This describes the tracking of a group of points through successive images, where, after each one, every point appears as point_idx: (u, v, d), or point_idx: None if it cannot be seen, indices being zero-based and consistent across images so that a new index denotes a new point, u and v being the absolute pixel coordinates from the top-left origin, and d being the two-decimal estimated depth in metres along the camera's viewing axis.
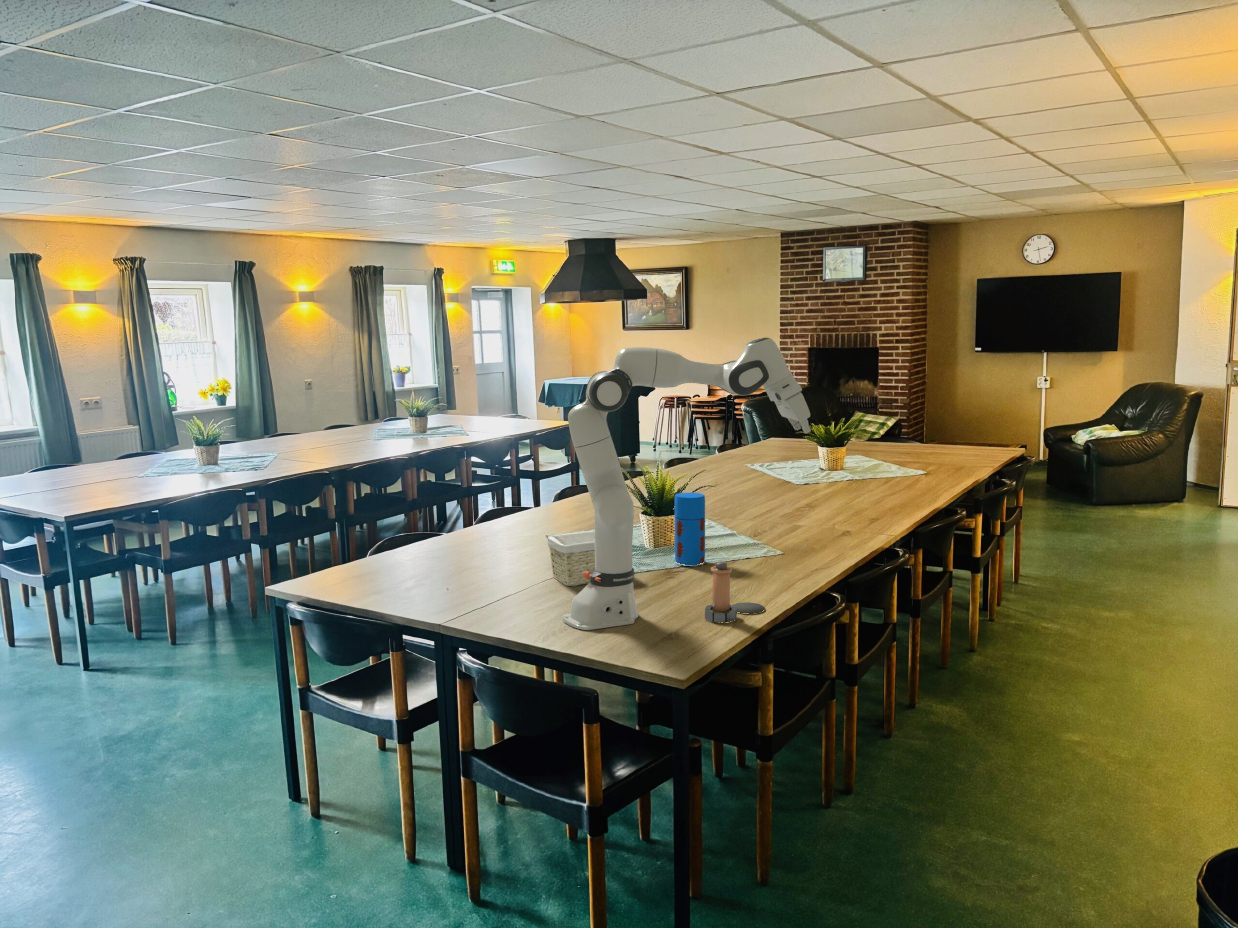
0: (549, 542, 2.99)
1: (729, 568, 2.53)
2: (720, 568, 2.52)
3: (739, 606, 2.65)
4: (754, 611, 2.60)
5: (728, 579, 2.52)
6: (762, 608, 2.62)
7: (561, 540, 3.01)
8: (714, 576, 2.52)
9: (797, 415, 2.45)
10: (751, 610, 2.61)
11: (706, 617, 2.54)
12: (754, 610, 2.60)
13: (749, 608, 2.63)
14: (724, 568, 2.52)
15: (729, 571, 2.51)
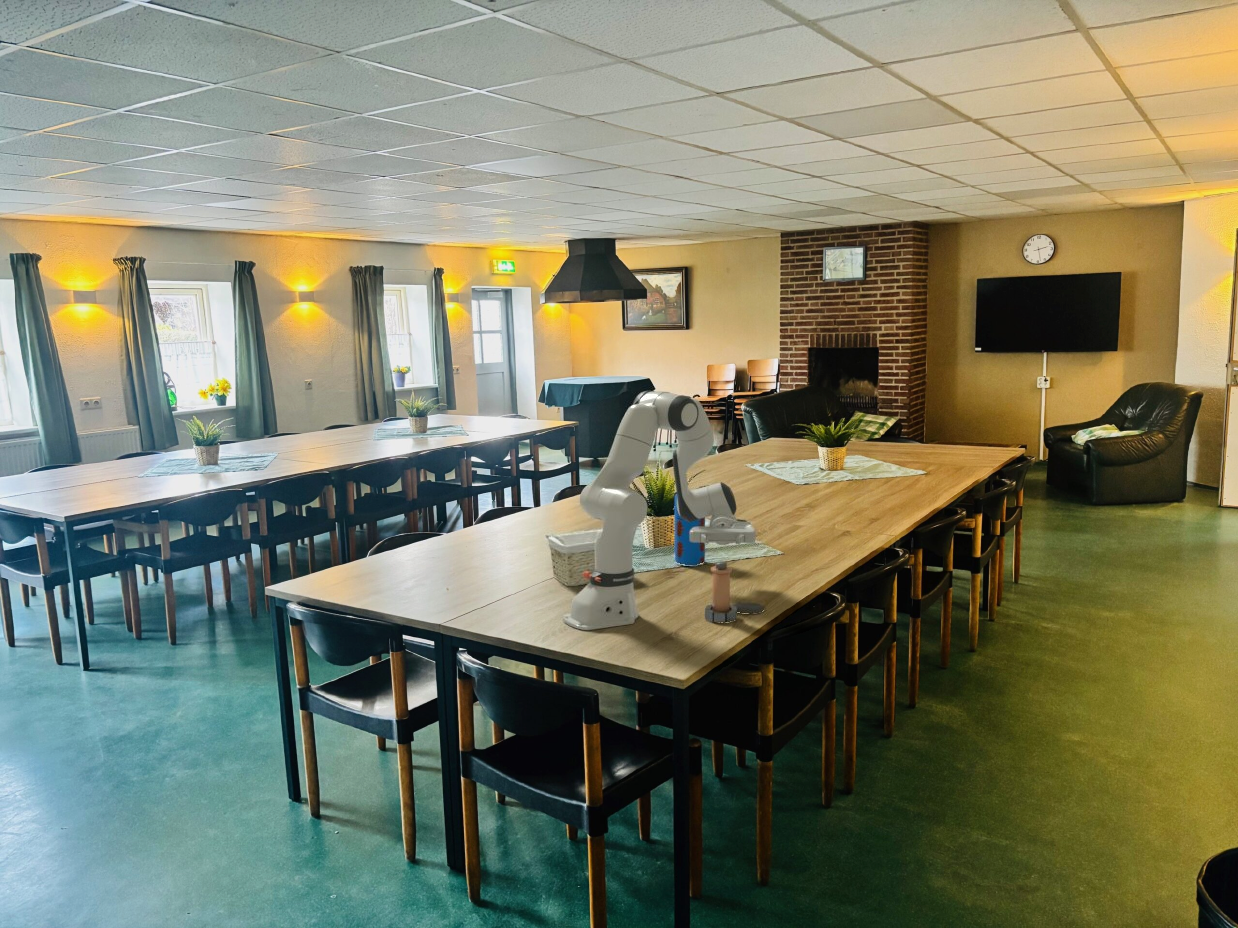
0: (550, 542, 2.98)
1: (729, 568, 2.53)
2: (720, 568, 2.52)
3: (739, 606, 2.65)
4: (754, 611, 2.60)
5: (728, 579, 2.52)
6: (762, 608, 2.62)
7: (562, 540, 3.01)
8: (714, 576, 2.52)
9: None
10: (751, 610, 2.61)
11: (706, 617, 2.54)
12: (754, 610, 2.60)
13: (749, 608, 2.63)
14: (724, 568, 2.52)
15: (729, 571, 2.51)
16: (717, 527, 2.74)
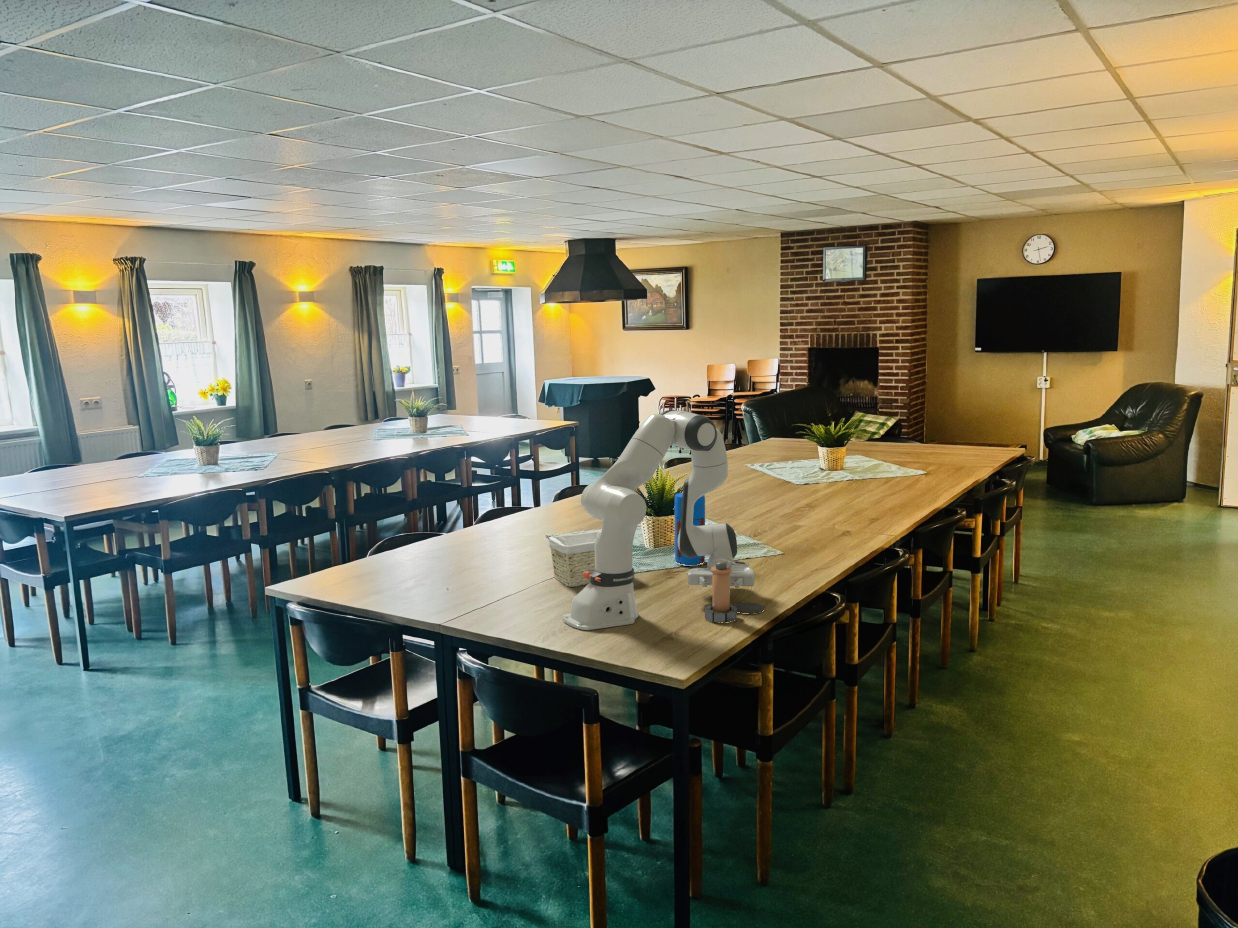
0: (550, 543, 2.98)
1: (729, 568, 2.53)
2: (720, 568, 2.52)
3: (739, 606, 2.65)
4: (754, 611, 2.60)
5: (728, 579, 2.52)
6: (762, 608, 2.62)
7: (562, 541, 3.00)
8: (714, 576, 2.52)
9: None
10: (751, 610, 2.61)
11: (706, 617, 2.54)
12: (754, 610, 2.60)
13: (749, 608, 2.63)
14: (724, 568, 2.52)
15: (729, 571, 2.51)
16: None
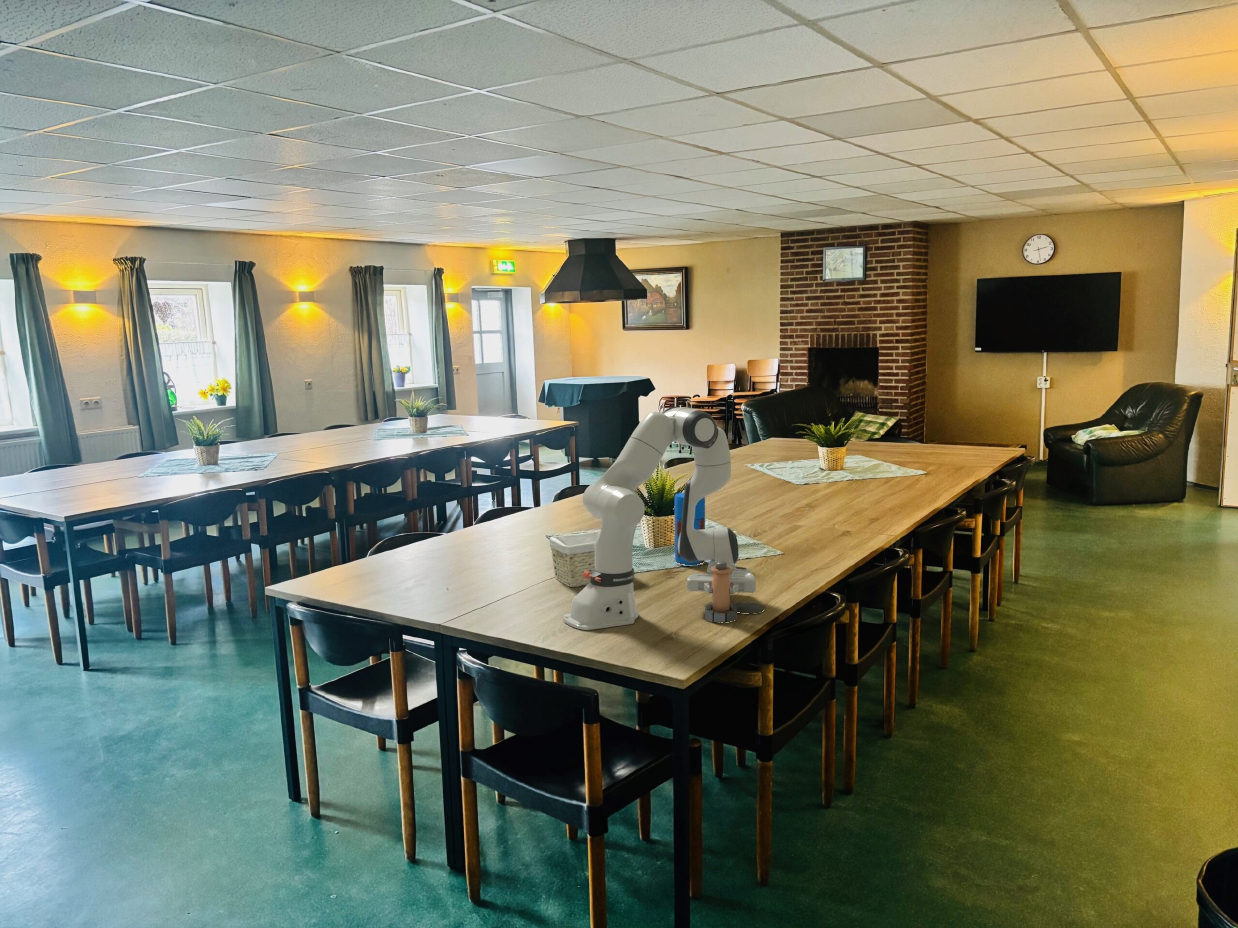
0: (551, 543, 2.97)
1: (729, 568, 2.53)
2: (720, 568, 2.52)
3: (739, 606, 2.65)
4: (754, 611, 2.60)
5: (728, 579, 2.52)
6: (762, 608, 2.62)
7: (563, 541, 3.00)
8: (714, 576, 2.52)
9: None
10: (751, 610, 2.61)
11: (706, 617, 2.54)
12: (754, 610, 2.60)
13: (749, 608, 2.63)
14: (724, 568, 2.52)
15: (729, 571, 2.51)
16: None
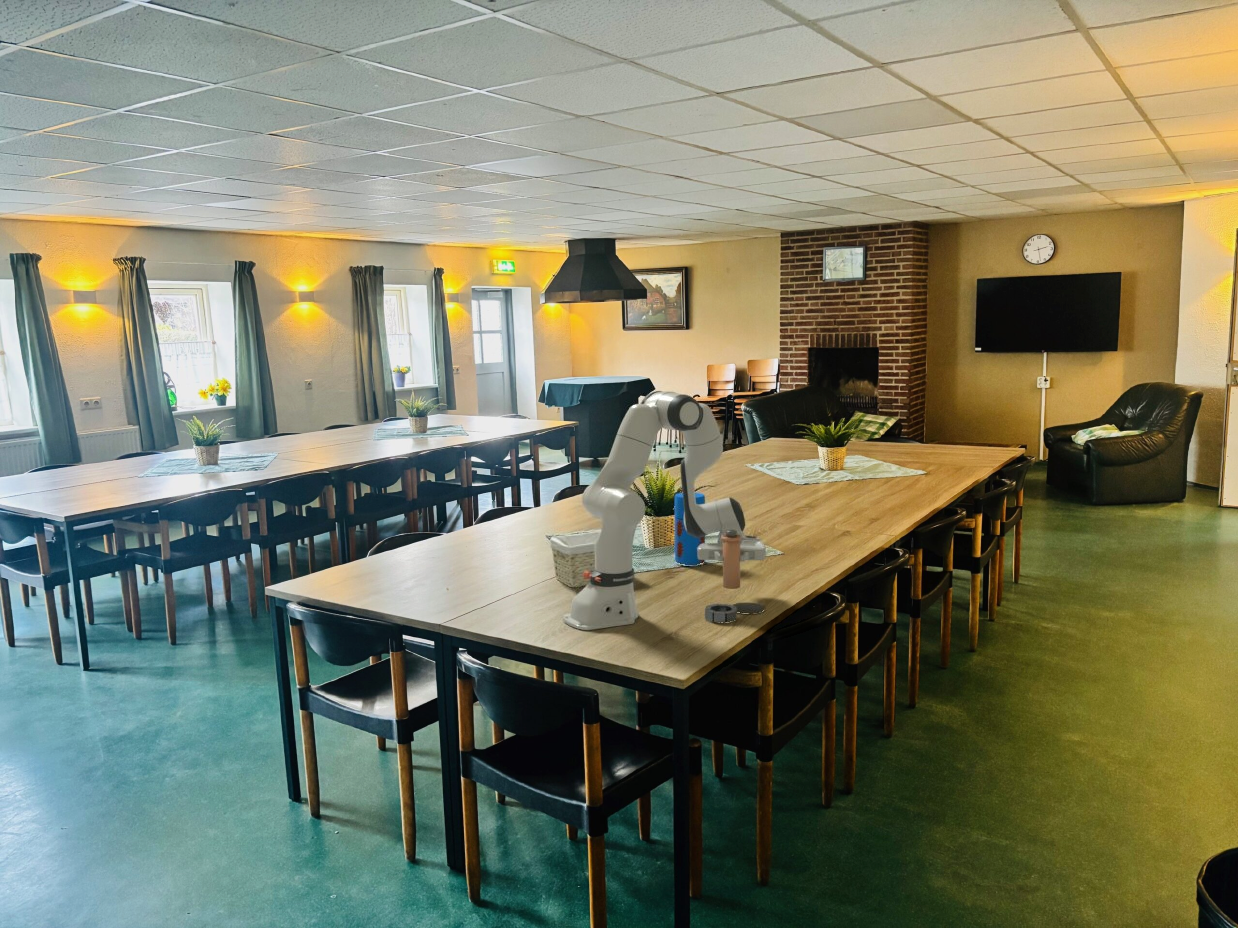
0: (552, 543, 2.97)
1: (739, 536, 2.55)
2: (730, 536, 2.53)
3: (739, 606, 2.65)
4: (754, 611, 2.60)
5: (738, 547, 2.54)
6: (762, 608, 2.62)
7: (564, 541, 2.99)
8: (725, 543, 2.54)
9: (765, 547, 2.60)
10: (751, 610, 2.61)
11: (706, 617, 2.54)
12: (754, 610, 2.60)
13: (749, 608, 2.63)
14: (734, 536, 2.54)
15: (739, 539, 2.53)
16: None
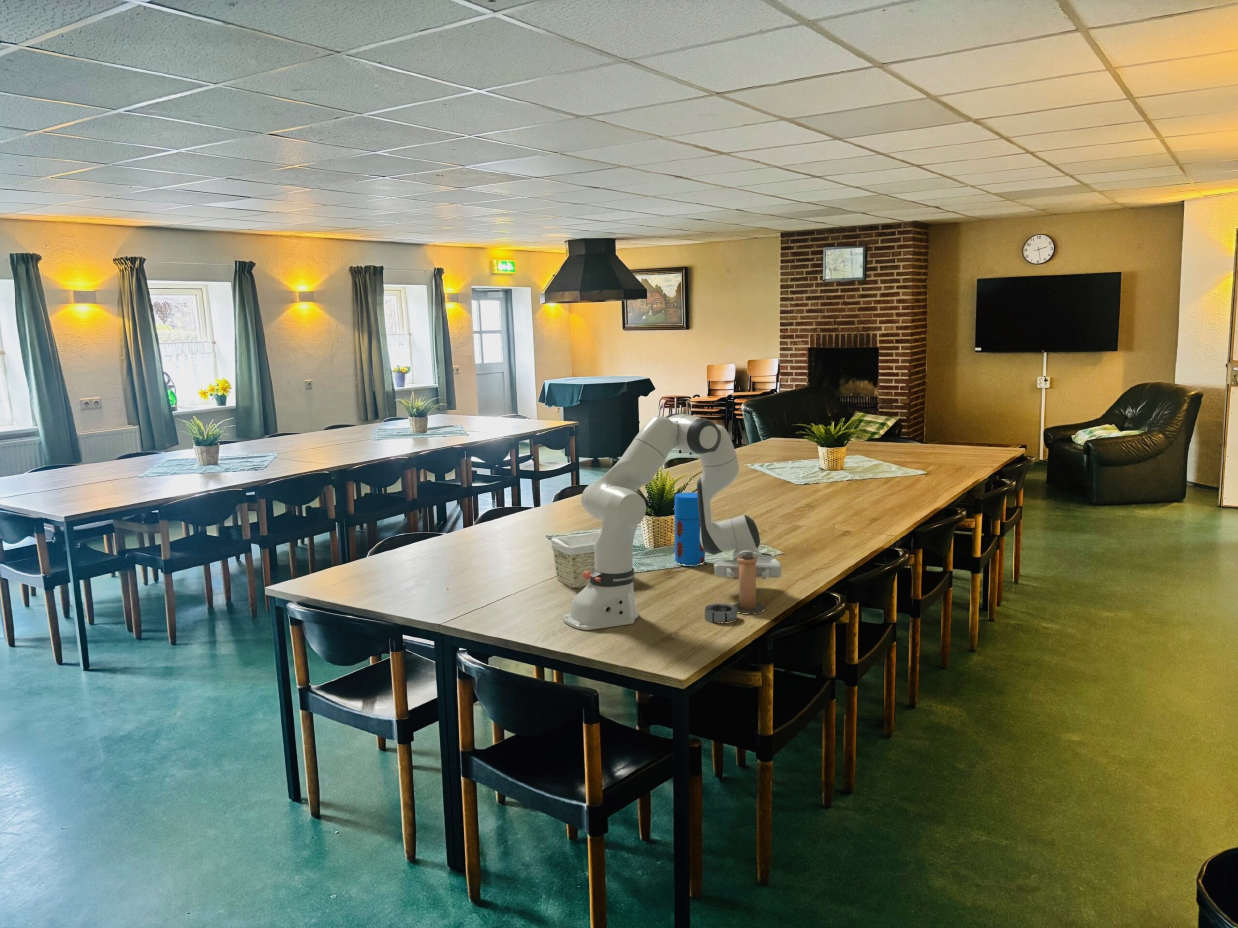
0: (553, 544, 2.96)
1: (755, 558, 2.62)
2: (746, 558, 2.60)
3: None
4: (754, 611, 2.60)
5: (754, 568, 2.61)
6: (762, 608, 2.62)
7: (565, 542, 2.99)
8: (741, 565, 2.61)
9: (780, 565, 2.67)
10: (751, 610, 2.61)
11: (706, 617, 2.54)
12: (754, 610, 2.60)
13: None
14: (750, 558, 2.60)
15: (755, 560, 2.60)
16: None
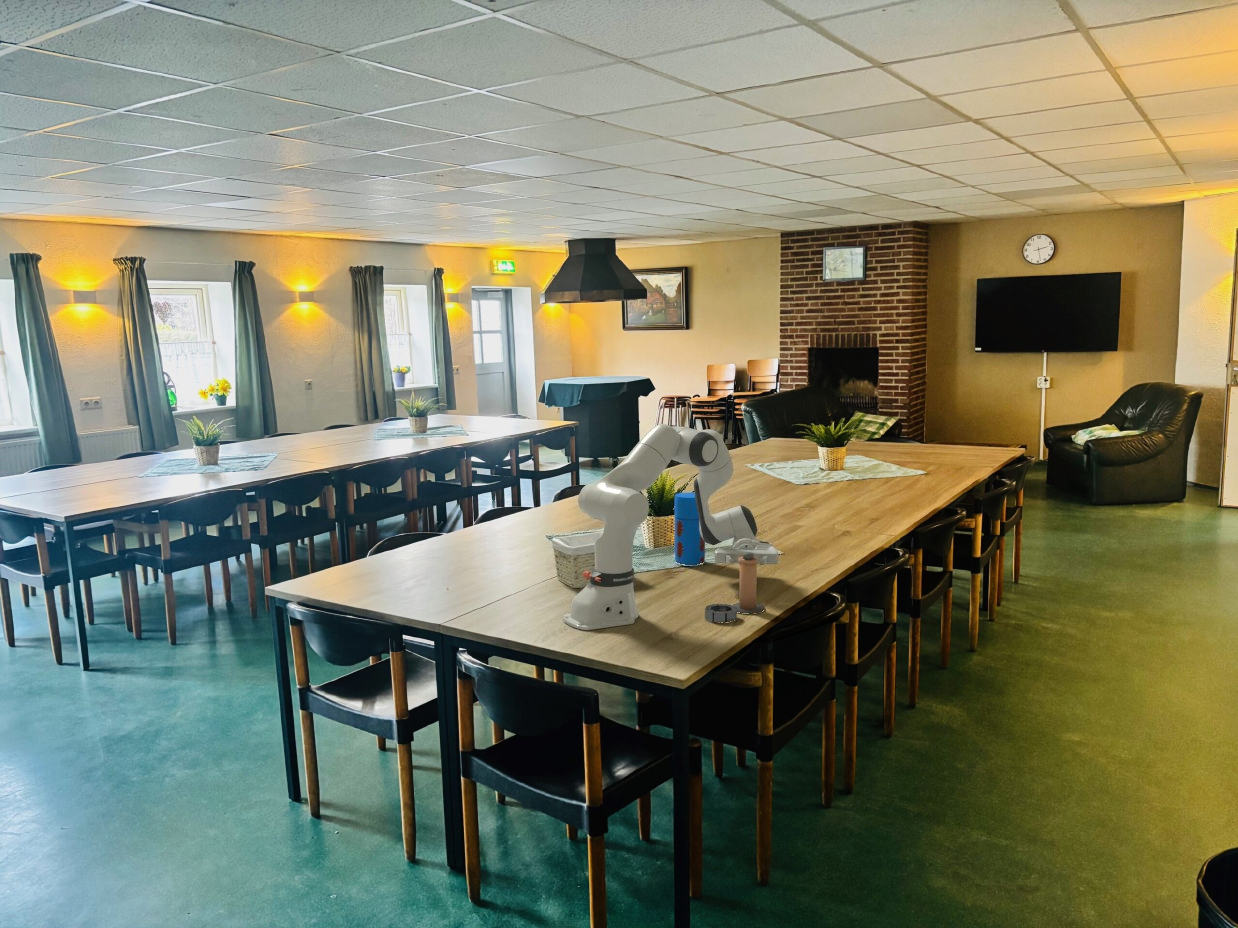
0: (554, 544, 2.96)
1: (756, 558, 2.61)
2: (747, 558, 2.60)
3: None
4: (754, 611, 2.60)
5: (755, 569, 2.60)
6: (762, 608, 2.62)
7: (565, 542, 2.98)
8: (742, 566, 2.60)
9: (777, 552, 2.79)
10: (751, 610, 2.61)
11: (706, 617, 2.54)
12: (754, 610, 2.60)
13: None
14: (751, 558, 2.60)
15: (756, 561, 2.59)
16: (741, 548, 2.84)
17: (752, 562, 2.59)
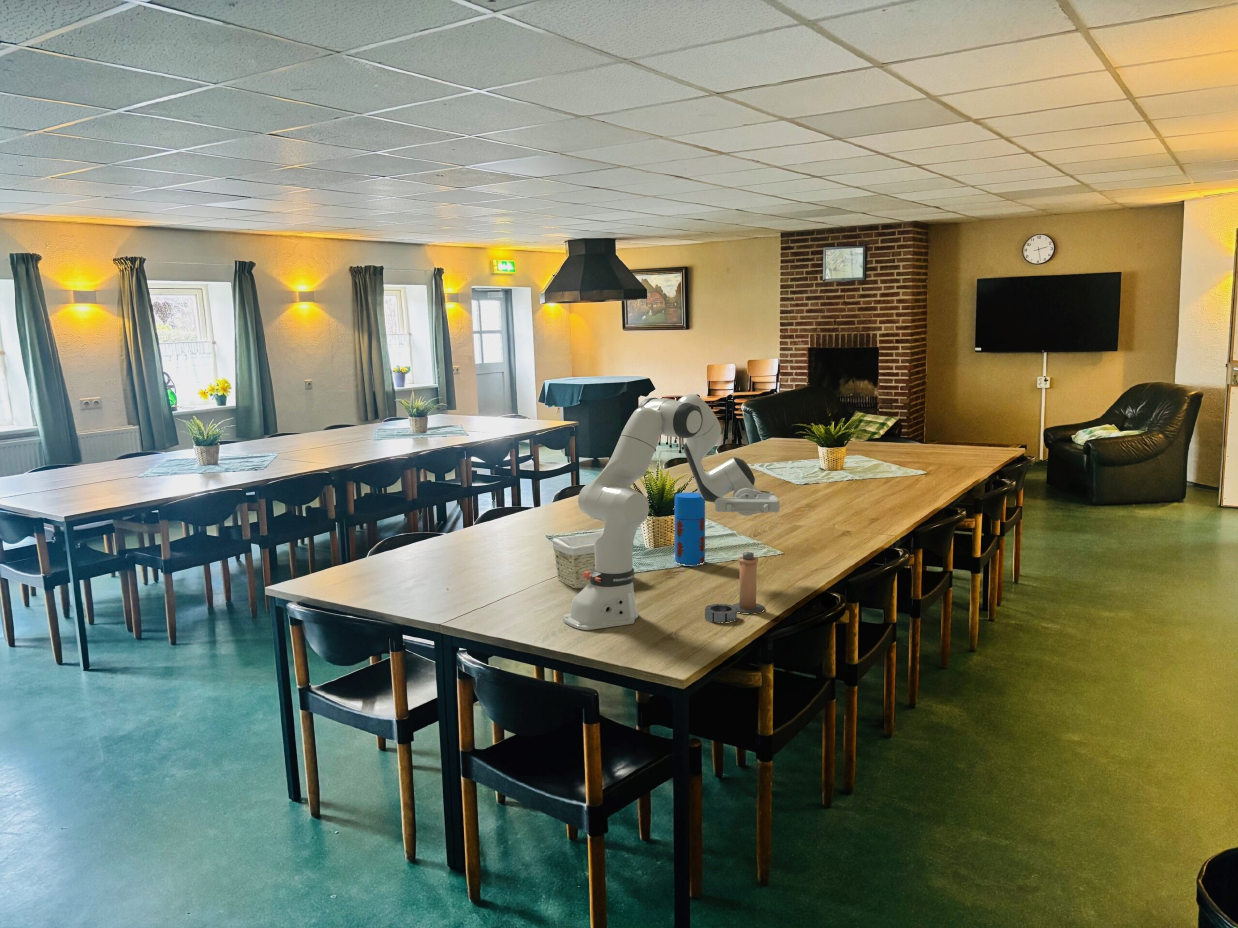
0: (554, 544, 2.95)
1: (756, 558, 2.61)
2: (747, 558, 2.60)
3: None
4: (754, 611, 2.60)
5: (755, 569, 2.60)
6: (762, 608, 2.62)
7: (566, 542, 2.98)
8: (742, 566, 2.60)
9: (778, 500, 2.77)
10: (751, 610, 2.61)
11: (706, 617, 2.54)
12: (754, 610, 2.60)
13: None
14: (751, 558, 2.60)
15: (756, 561, 2.60)
16: (741, 498, 2.82)
17: (752, 562, 2.59)
